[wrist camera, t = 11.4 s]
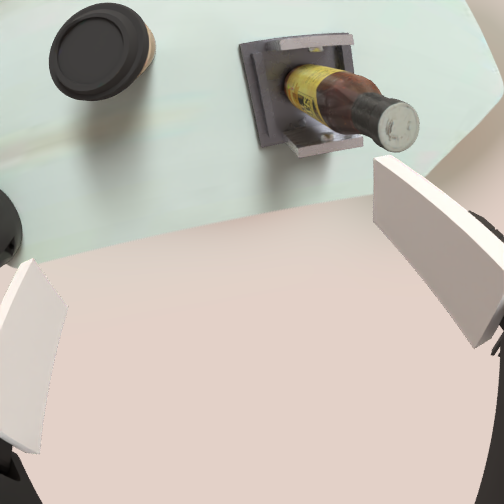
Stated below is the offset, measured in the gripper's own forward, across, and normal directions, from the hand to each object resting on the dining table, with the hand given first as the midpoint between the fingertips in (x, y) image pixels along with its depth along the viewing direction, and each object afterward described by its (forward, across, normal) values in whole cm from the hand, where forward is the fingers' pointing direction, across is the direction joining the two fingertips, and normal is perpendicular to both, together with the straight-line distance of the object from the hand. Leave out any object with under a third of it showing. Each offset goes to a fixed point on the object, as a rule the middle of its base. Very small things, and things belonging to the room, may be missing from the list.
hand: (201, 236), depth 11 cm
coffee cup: (+31, -6, +9) cm, 33 cm away
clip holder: (+30, +14, -1) cm, 33 cm away
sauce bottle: (+29, +14, -1) cm, 33 cm away
